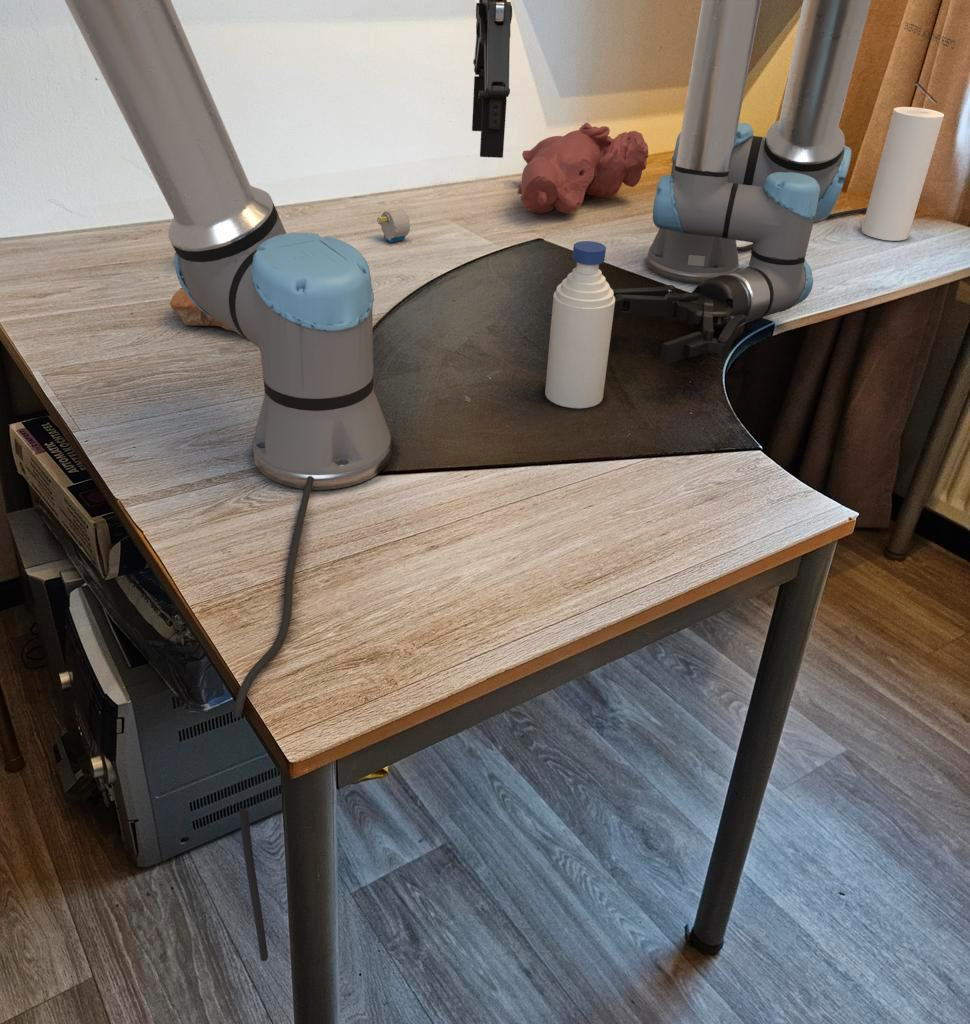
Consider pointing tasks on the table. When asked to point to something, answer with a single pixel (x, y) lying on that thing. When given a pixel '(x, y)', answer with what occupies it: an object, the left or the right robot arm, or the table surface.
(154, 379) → the table surface
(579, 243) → the cap
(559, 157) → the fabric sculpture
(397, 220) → the electric motor
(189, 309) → the ceramic shard
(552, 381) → the bottle
